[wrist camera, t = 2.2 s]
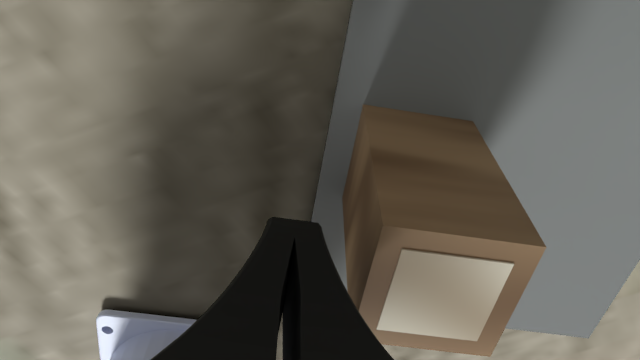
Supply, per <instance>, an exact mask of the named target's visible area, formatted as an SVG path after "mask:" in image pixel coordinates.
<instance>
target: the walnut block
mask: <svg viewBox="0 0 640 360" xmlns="http://www.w3.org/2000/svg"><path fill="white" fill-rule="evenodd" d="M342 202H343V220H344V238H345V256H346V274H347V292H348V294H349V295H350V297H351V299H352V301H353V303H354V304H355V306H356V308H357V309H358V311H359V313H360V314H361V316H362V318H363V319H364V321H365V322H366V324H367V325H368V327H369V328H370V330H371V331H372V332H373V334H374V335H375V337H376V338H377V339H378V341H379V342H380V343H381V344H385V345H393V346H402V347H411V348H419V349H428V350H437V351H446V352H454V353H463V354H472V355H480V356H489V357H490V356H491V354H492V352H493V350H494V348H495V347H496V345H497V343H498V341H499V339H500V337H501V335H502V333H503V331H504V329H505V327H506V325H507V323H508V321H509V319H510V317H511V315H512V313H513V312H514V310H515V308H516V306H517V304H518V302H519V300H520V298H521V296H522V294H523V292H524V290H525V288H526V286H527V284H528V282H529V280H530V279H531V277H532V275H533V273H534V271H535V269H536V267H537V265H538V263H539V261H540V259H541V257H542V255H543V253H544V251H545V249H546V245H545V244H544V242H543V240H542V239H541V237H540V235H539V233H538V232H537V230H536V228H535V227H534V225H533V223H532V221H531V220H530V218H529V216H528V215H527V213H526V211H525V209H524V208H523V206H522V204H521V203H520V201H519V199H518V197H517V196H516V194H515V192H514V191H513V189H512V187H511V185H510V184H509V182H508V180H507V179H506V177H505V175H504V173H503V172H502V170H501V168H500V167H499V165H498V163H497V162H496V160H495V158H494V156H493V155H492V153H491V151H490V150H489V148H488V146H487V144H486V143H485V141H484V139H483V138H482V136H481V134H480V132H479V131H478V129H477V127H476V126H475V124H474V122H473V121H469V120H462V119H456V118H449V117H442V116H436V115H429V114H423V113H416V112H410V111H403V110H397V109H390V108H384V107H377V106H371V105H364V104H363V107H362V111H361V116H360V120H359V125H358V129H357V134H356V138H355V143H354V147H353V152H352V156H351V161H350V165H349V170H348V174H347V179H346V183H345V188H344V192H343V197H342Z"/></svg>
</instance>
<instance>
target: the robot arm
mask: <svg viewBox="0 0 640 360" xmlns="http://www.w3.org/2000/svg"><path fill="white" fill-rule="evenodd" d="M282 312H283V360H394V359H393V358H392V357H391V356H390V355H389V353H388V352H387V351H386V350H385V349H384V347H383V346H382V345H381V343H380V342H379V341H378V339H377V338H376V337H375V335H374V334H373V332H372V331H371V330H370V328H369V327H368V325H367V324H366V322H365V321H364V319H363V318H362V316H361V314H360V313H359V311H358V309H357V308H356V306H355V304H354V303H353V301H352V299H351V297H350V295H349V294H348V292H347V290H346V288H345V286H344V284H343V282H342V280H341V278H340V276H339V274H338V271H337V269H336V267H335V265H334V263H333V260H332V258H331V255H330V253H329V250H328V247H327V245H326V242H325V238H324V235H323V231H322V227H321V226H320V224H319V223H316V222H308V221H300V220H292V219H284V218H276V217H272V218H270V219H269V220H268V221H267V225H266V227H265V230H264V232H263V234H262V236H261V238H260V240H259V242H258V244H257V245H256V247H255V249H254V251H253V252H252V254H251V255H250V257H249V258H248V260H247V261H246V263H245V264H244V266H243V267H242V269H241V270H240V271H239V273H238V274H237V275H236V277H235V278H234V279H233V281H232V282H231V283H230V285H229V286H228V287H227V288H226V290H225V291H224V292H223V293H222V294H221V296H220V297H219V298H218V299H217V300H216V301H215V302H214V303H213V304H212V305H211V307H210V308H209V309H208V310H207V311H206V312H205V313H204V314H203V315H202V316H201V317H200V318H199V319H198V320H195V319H187V318H178V317H169V316H161V315H152V314H143V313H135V312H126V311H117V310H102V311H101V312H100V313H99V314H98V316H97V318H96V325H97V334H98V344H99V353H100V360H276V350H277V337H278V331H279V327H280V322H281V317H282Z"/></svg>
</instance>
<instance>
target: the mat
mask: <svg viewBox="0 0 640 360" xmlns="http://www.w3.org/2000/svg"><path fill="white" fill-rule="evenodd" d="M363 104H364V105H371V106H377V107H384V108H390V109H397V110H403V111H410V112H416V113H423V114H429V115H436V116H442V117H449V118H456V119H462V120H469V121H473V122H474V124H475V126H476V127H477V129H478V131H479V132H480V134H481V136H482V138H483V139H484V141H485V143H486V144H487V146H488V148H489V150H490V151H491V153H492V155H493V156H494V158H495V160H496V162H497V163H498V165H499V167H500V168H501V170H502V172H503V173H504V175H505V177H506V179H507V180H508V182H509V184H510V185H511V187H512V189H513V191H514V192H515V194H516V196H517V197H518V199H519V201H520V203H521V204H522V206H523V208H524V209H525V211H526V213H527V215H528V216H529V218H530V220H531V221H532V223H533V225H534V227H535V228H536V230H537V232H538V233H539V235H540V237H541V239H542V240H543V242H544V244H545V245H546V249H545V251H544V253H543V255H542V257H541V259H540V261H539V263H538V265H537V267H536V269H535V271H534V273H533V275H532V277H531V279H530V280H529V282H528V284H527V286H526V288H525V290H524V292H523V294H522V296H521V298H520V300H519V302H518V304H517V306H516V308H515V310H514V312H513V313H512V315H511V317H510V319H509V321H508V323H507V325H506V327H505V328H507V329H516V330H524V331H532V332H541V333H549V334H557V335H566V336H574V337H582V338H589V337H590V335H591V334H592V332H593V331H594V329H595V328H596V326H597V324H598V323H599V321H600V320H601V318H602V317H603V315H604V314H605V312H606V311H607V309H608V308H609V306H610V305H611V303H612V301H613V300H614V298H615V297H616V295H617V294H618V292H619V291H620V289H621V288H622V286H623V285H624V283H625V282H626V280H627V278H628V277H629V275H630V274H631V272H632V271H633V269H634V268H635V266H636V265H637V263H638V262H639V260H640V0H353V1H352V7H351V12H350V17H349V23H348V28H347V33H346V38H345V44H344V49H343V54H342V60H341V65H340V70H339V76H338V81H337V86H336V91H335V97H334V102H333V107H332V113H331V118H330V123H329V129H328V134H327V139H326V145H325V150H324V155H323V160H322V166H321V171H320V176H319V182H318V187H317V192H316V198H315V203H314V208H313V213H312V219H311V222H316V223H319V224H320V226H321V227H322V231H323V235H324V238H325V242H326V245H327V247H328V250H329V253H330V255H331V258H332V260H333V263H334V265H335V267H336V269H337V271H338V274H339V276H340V278H341V280H342V282H343V284H344V286H345V288H346V290H347V274H346V256H345V238H344V220H343V202H342V197H343V192H344V188H345V183H346V179H347V174H348V170H349V165H350V161H351V156H352V152H353V147H354V143H355V138H356V134H357V129H358V125H359V120H360V116H361V111H362V107H363Z"/></svg>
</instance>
